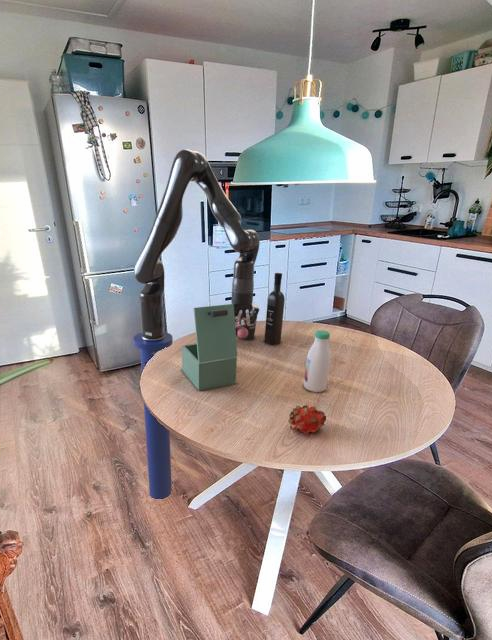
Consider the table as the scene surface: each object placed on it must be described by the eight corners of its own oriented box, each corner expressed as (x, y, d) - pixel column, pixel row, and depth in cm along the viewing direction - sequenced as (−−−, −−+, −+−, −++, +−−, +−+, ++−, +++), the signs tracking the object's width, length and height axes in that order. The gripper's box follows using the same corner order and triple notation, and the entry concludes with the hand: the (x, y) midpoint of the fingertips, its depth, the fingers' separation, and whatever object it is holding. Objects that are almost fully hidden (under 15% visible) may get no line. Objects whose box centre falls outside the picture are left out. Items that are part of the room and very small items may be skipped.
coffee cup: (233, 339, 170) (234, 306, 164) (239, 332, 179) (240, 301, 173) (254, 342, 168) (256, 309, 162) (259, 335, 176) (261, 303, 170)
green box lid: (193, 307, 120) (199, 308, 116) (232, 303, 126) (239, 304, 121) (198, 362, 124) (204, 364, 119) (236, 356, 129) (243, 358, 124)
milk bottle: (330, 387, 133) (339, 332, 124) (319, 395, 127) (327, 338, 119) (310, 379, 137) (317, 326, 129) (299, 387, 132) (305, 332, 124)
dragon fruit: (282, 436, 108) (319, 435, 112) (298, 435, 100) (336, 434, 104) (280, 406, 110) (316, 406, 114) (295, 403, 102) (333, 403, 106)
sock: (230, 333, 145) (230, 323, 143) (239, 331, 147) (240, 321, 145) (240, 340, 139) (240, 330, 137) (249, 339, 140) (250, 328, 138)
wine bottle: (272, 345, 165) (279, 275, 153) (263, 341, 169) (268, 273, 157) (281, 342, 169) (288, 273, 157) (271, 338, 173) (277, 271, 160)
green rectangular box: (182, 370, 141) (181, 345, 137) (216, 364, 146) (216, 340, 142) (198, 390, 127) (198, 363, 123) (235, 383, 133) (236, 357, 129)
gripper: (255, 286, 141) (252, 330, 148) (219, 288, 136) (218, 334, 143) (265, 291, 135) (261, 336, 142) (228, 294, 130) (226, 341, 137)
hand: (239, 335), depth 143 cm, fingers closed on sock, 4 cm apart
